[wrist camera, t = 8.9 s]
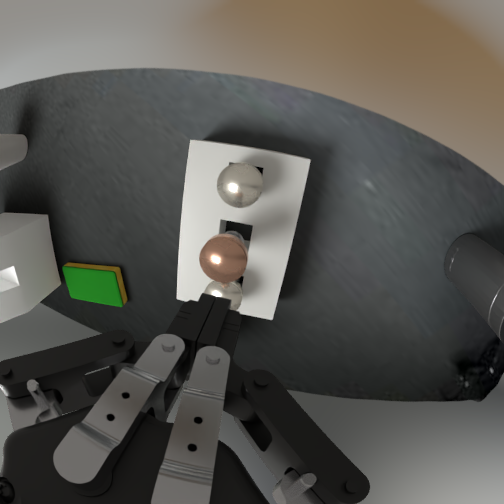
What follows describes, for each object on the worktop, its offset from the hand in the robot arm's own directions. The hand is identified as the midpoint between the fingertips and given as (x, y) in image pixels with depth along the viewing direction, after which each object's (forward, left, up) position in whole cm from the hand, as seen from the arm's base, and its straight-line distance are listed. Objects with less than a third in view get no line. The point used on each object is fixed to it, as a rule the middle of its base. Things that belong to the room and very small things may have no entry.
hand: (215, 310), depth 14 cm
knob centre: (+2, +4, -18) cm, 19 cm away
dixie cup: (+50, -5, -25) cm, 56 cm away
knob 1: (+2, -3, -22) cm, 23 cm away
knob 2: (+2, +11, -22) cm, 25 cm away
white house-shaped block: (+49, +17, -25) cm, 58 cm away
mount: (+2, +4, -25) cm, 25 cm away
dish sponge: (+28, +20, -26) cm, 43 cm away
